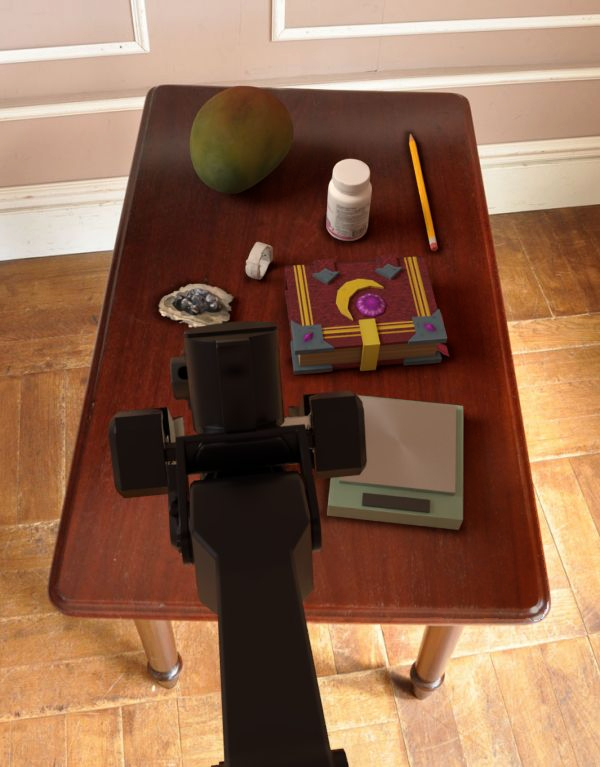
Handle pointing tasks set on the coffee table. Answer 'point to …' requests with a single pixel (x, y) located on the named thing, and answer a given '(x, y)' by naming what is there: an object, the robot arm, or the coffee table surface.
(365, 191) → the pill bottle
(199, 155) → the fruit
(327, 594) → the coffee table surface
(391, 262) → the decorative book
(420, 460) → the scale
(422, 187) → the pencil
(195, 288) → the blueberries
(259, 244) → the smartwatch
